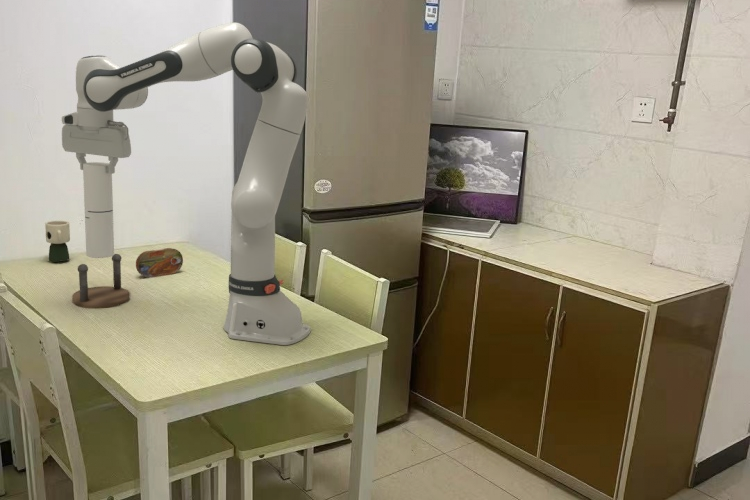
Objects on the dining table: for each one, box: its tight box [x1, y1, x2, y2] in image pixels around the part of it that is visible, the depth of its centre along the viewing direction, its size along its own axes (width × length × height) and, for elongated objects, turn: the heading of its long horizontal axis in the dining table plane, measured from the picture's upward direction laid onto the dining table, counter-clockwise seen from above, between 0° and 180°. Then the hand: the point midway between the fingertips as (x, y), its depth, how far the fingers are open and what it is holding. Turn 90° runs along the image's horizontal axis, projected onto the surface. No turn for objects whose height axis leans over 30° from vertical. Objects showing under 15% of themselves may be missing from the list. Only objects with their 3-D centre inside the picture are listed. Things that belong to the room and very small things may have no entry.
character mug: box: [44, 220, 71, 263], centre depth 225 cm, size 11×7×13 cm, turn 30°
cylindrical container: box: [82, 161, 115, 259], centre depth 187 cm, size 7×7×25 cm
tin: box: [135, 247, 184, 279], centre depth 219 cm, size 15×3×8 cm, turn 133°
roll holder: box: [71, 253, 131, 309], centre depth 192 cm, size 15×16×12 cm
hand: (97, 171), depth 185 cm, fingers closed on cylindrical container, 7 cm apart
